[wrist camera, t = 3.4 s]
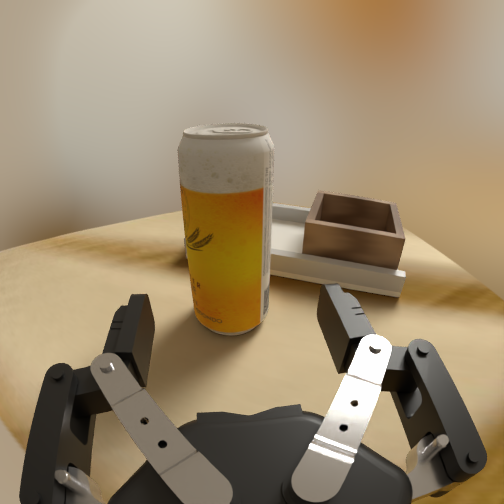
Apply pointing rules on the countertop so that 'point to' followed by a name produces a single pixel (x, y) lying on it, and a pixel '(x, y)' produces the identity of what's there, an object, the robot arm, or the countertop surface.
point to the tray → (321, 259)
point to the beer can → (228, 222)
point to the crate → (354, 230)
